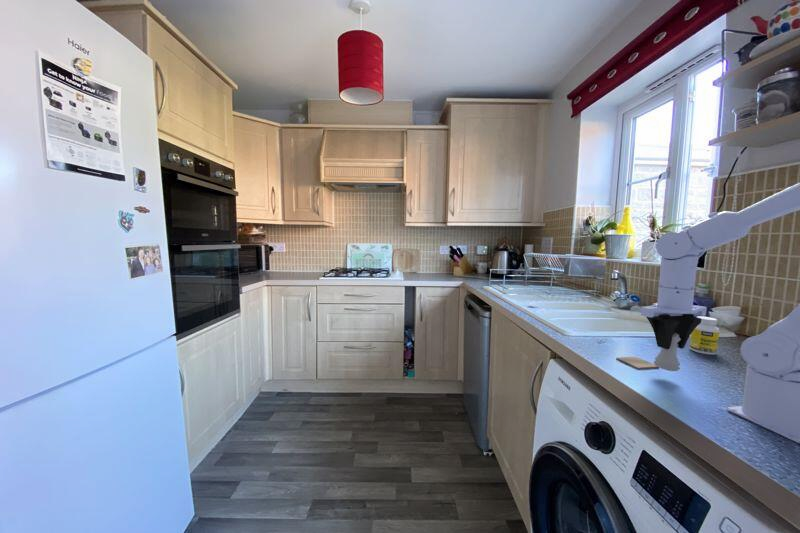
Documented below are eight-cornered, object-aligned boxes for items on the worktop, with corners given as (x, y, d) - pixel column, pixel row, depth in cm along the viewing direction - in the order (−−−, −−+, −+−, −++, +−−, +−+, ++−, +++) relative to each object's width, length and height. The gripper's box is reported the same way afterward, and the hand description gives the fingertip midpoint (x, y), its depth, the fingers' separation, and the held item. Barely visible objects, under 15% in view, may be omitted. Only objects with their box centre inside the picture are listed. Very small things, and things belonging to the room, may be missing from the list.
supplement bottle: (698, 354, 81) (702, 319, 80) (684, 347, 86) (687, 314, 85) (722, 356, 80) (726, 321, 79) (706, 348, 85) (710, 316, 84)
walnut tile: (659, 368, 71) (659, 366, 71) (637, 370, 71) (638, 367, 70) (635, 358, 77) (636, 356, 77) (616, 359, 76) (616, 357, 76)
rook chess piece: (685, 372, 63) (691, 337, 62) (662, 370, 64) (668, 336, 63) (669, 363, 68) (674, 330, 67) (648, 361, 68) (653, 329, 67)
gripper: (683, 284, 69) (678, 339, 70) (630, 284, 67) (625, 342, 68) (720, 289, 62) (713, 350, 63) (662, 290, 60) (656, 353, 61)
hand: (670, 347), depth 65 cm, fingers closed on rook chess piece, 3 cm apart
